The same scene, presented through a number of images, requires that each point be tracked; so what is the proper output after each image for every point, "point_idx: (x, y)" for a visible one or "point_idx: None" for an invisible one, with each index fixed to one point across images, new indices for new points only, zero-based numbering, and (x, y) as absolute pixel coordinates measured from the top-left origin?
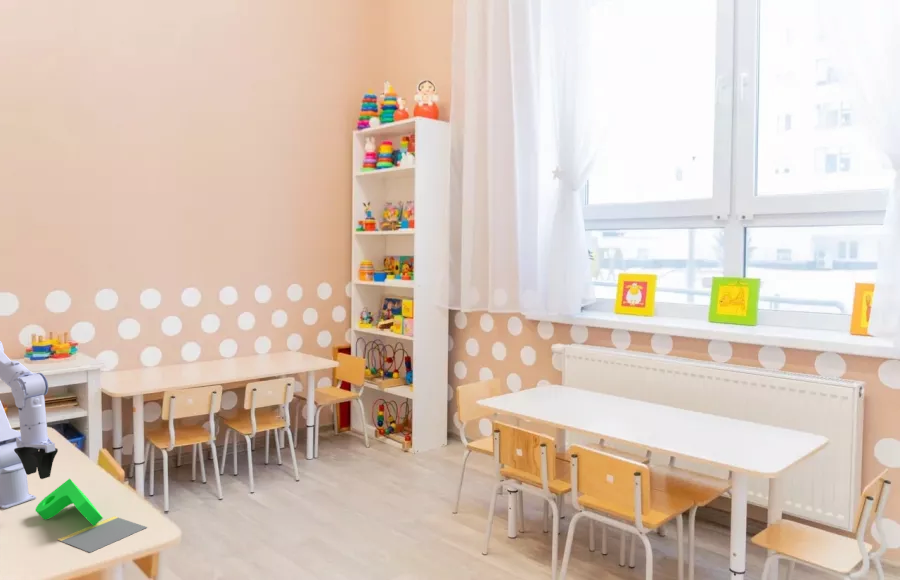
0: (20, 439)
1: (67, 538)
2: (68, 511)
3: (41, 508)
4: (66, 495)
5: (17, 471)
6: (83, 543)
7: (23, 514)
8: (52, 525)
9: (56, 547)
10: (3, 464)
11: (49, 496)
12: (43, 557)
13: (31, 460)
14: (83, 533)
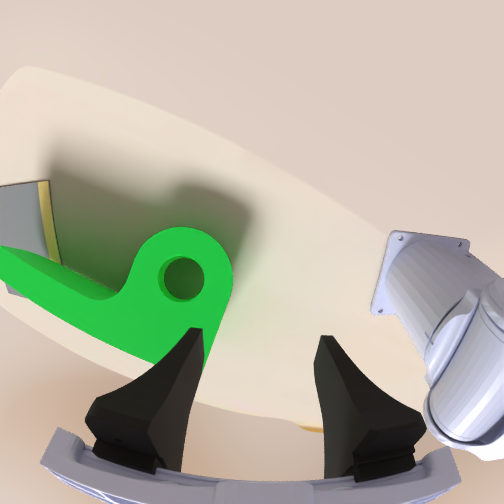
0: (404, 500)
1: (39, 196)
2: (188, 295)
3: (176, 241)
4: (99, 300)
5: (427, 337)
6: (8, 202)
7: (298, 230)
8: (131, 221)
9: (26, 162)
10: (475, 325)
11: (207, 297)
12: (13, 127)
13: (329, 402)
14: (38, 228)
